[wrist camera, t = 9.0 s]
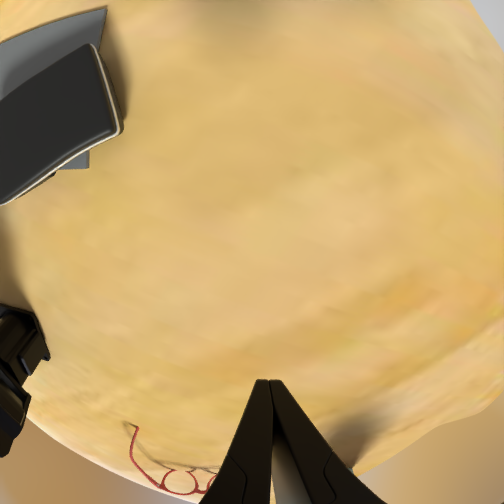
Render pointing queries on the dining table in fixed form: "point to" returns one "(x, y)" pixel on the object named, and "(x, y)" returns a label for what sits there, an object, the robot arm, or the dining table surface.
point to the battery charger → (55, 120)
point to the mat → (48, 54)
